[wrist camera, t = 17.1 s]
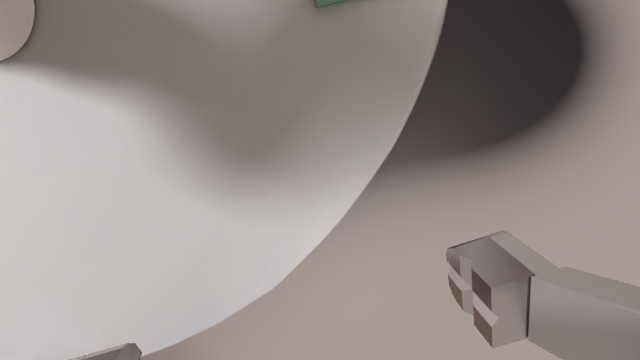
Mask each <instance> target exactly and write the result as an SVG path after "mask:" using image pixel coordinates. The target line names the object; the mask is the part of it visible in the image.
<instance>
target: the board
mask: <svg viewBox="0 0 640 360" xmlns="http://www.w3.org/2000/svg"><path fill="white" fill-rule="evenodd" d="M314 1H315V6H316V8H318V7H322V6H326V5H330V4H334V3H338V2H342V1H346V0H314Z"/></svg>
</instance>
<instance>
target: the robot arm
mask: <svg viewBox="0 0 640 360" xmlns="http://www.w3.org/2000/svg"><path fill="white" fill-rule="evenodd" d="M34 14H35V6H34V0H0V61H2V60H4V59H6V58H8V57H10V56H12V55H13V54H15V53H16V52H17V51H18V50H19V49H20V48H21V47H22V46H23V45H24V44H25V42H26V41H27V39H28V37H29V35H30V33H31V30H32V27H33V23H34ZM446 260H447V262H448V263H449V264H450V265H451V267H452V268H451V270H450V271H449V273H448V279H449V285H450V288H451V291H452V294H453V296H454V298H455V299H456V301H457V303H458V304H459V305H460V307H461V308H462V309H463V311H465V312H468V313H470V314H472V315H474V325H475V326H476V328H477V329H478V330H479V332H480V333H481V334H482V335H483V336H484V338H485V339H486V340H487V342H488V343H489V344H490V346H491V347H492V348H495V347H498V346H502V345H506V344H509V343H512V342H516V341H520V340H523V339H527V338H528V340H529V341H530V342H532V343H534V344H536V345H537V346H539V347H541V348H543V349H545V350H547V351H548V352H550V353H552V354H554V355H555V356H557V357H559V358H561V359H563V360H640V287H639V286H635V285H631V284H628V283H624V282H620V281H617V280H613V279H609V278H606V277H602V276H598V275H595V274H591V273H587V272H584V271H580V270H576V269H572V268H569V267H563V268H558V267H557V266H555V265H554V264H553V263H551V262H550V261H548V260H547V259H545V258H544V257H543V256H541V255H540V254H538V253H537V252H535V251H534V250H533V249H531V248H530V247H529V246H527V245H526V244H524V243H523V242H522V241H520V240H519V239H517V238H516V237H514V236H513V235H512V234H510V233H509V232H506V231H500V232H496V233H493V234H490V235H487V236H484V237H482V238H478V239H475V240H472V241H469V242H466V243H463V244H459V245H456V246H452V247H449V248H447V251H446ZM141 354H142V352H141V350H140V349H139V348H138V346H137V345H136V344H135V343H127V344H124V345H120V346H116V347H113V348H109V349H105V350H102V351H98V352H94V353H91V354H88V355H85V356H81V357H78V358H74V359H70V360H140V358H141Z"/></svg>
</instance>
